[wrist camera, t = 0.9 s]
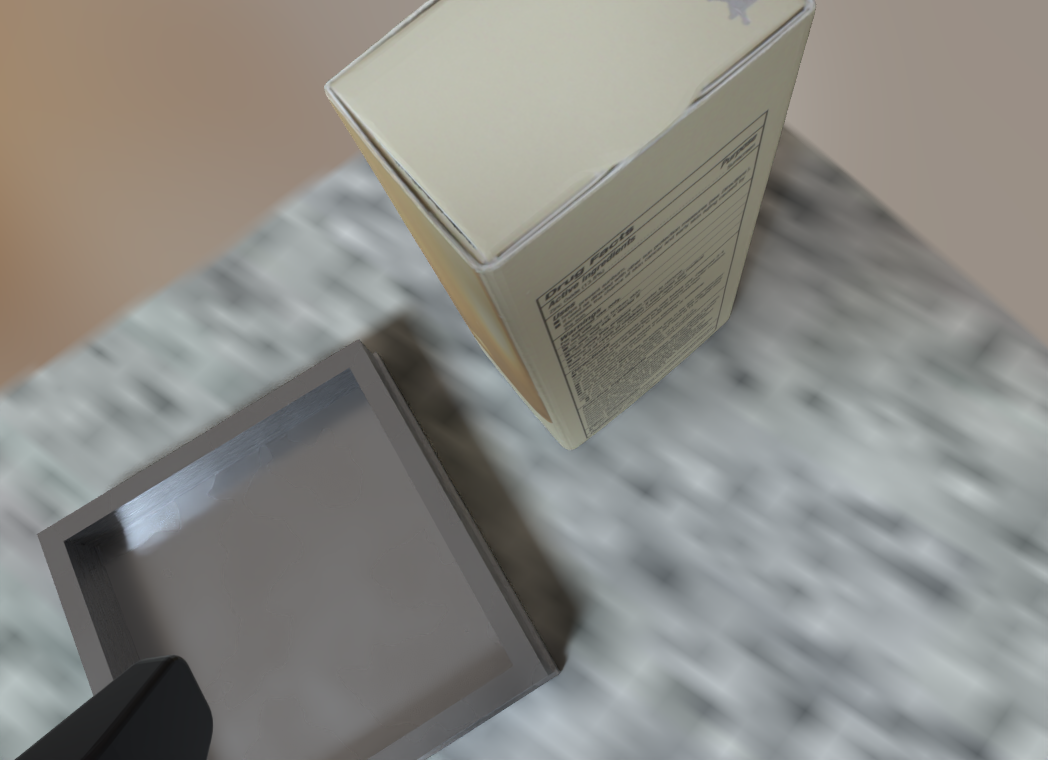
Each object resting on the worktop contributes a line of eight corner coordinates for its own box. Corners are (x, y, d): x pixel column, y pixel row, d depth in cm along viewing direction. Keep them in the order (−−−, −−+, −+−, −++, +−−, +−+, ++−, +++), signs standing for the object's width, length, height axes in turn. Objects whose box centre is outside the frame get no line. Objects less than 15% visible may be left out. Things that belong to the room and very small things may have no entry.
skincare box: (634, 223, 23) (635, -169, 12) (734, 322, 22) (845, -15, 11) (469, 354, 23) (303, 75, 11) (562, 464, 21) (479, 274, 10)
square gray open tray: (560, 673, 20) (554, 677, 18) (209, 897, 19) (168, 924, 18) (380, 356, 23) (360, 334, 22) (77, 540, 23) (32, 532, 21)
